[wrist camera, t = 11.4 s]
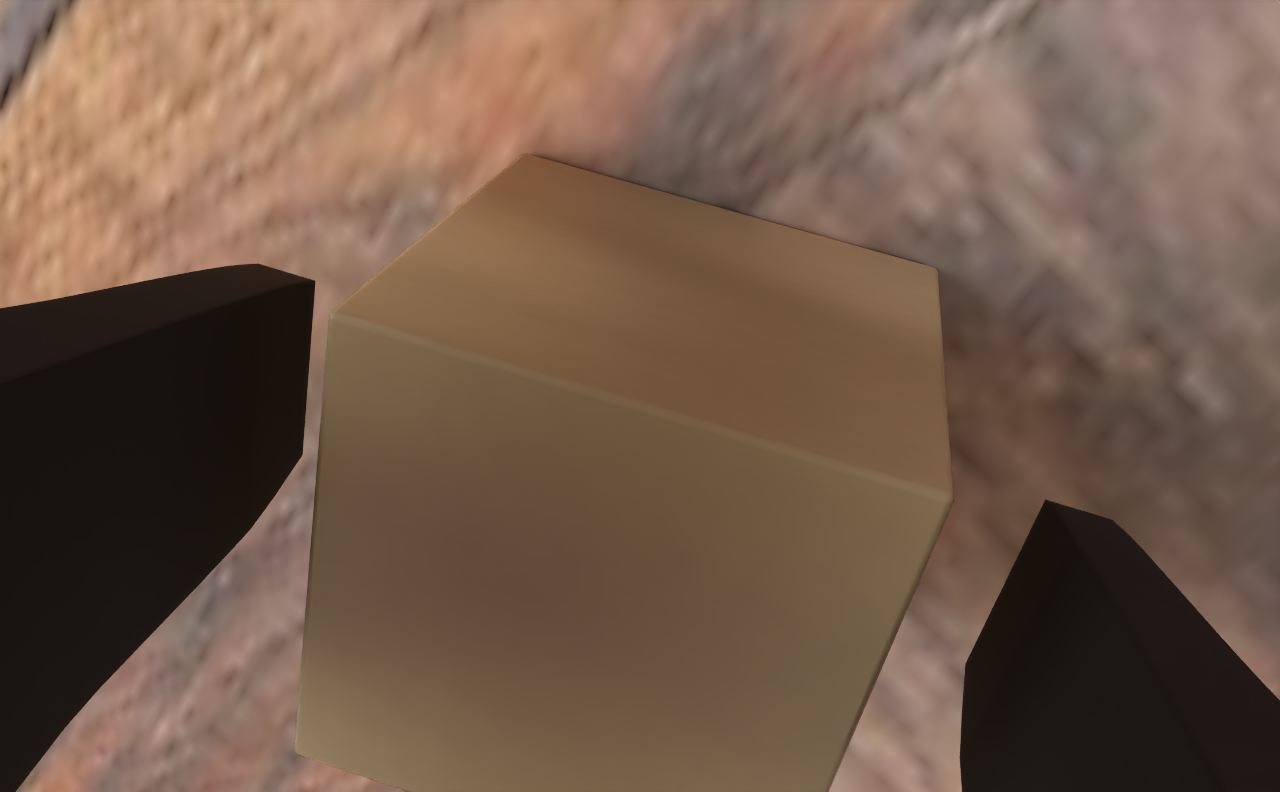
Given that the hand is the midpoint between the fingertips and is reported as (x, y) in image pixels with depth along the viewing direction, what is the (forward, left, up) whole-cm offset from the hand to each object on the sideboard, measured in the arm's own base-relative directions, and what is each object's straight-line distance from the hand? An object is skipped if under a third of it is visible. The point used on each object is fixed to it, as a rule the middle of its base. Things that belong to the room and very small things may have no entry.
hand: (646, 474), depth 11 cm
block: (0, 0, -2) cm, 2 cm away
